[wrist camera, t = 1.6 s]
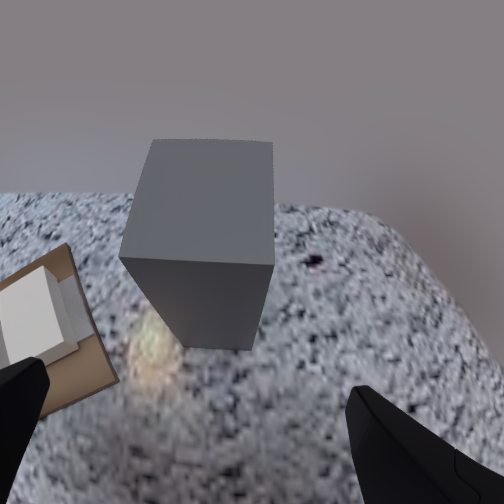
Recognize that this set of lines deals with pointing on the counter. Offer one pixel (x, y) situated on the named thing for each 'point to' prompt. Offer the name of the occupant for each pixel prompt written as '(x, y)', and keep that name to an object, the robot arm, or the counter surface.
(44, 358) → the terminal blocks
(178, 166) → the block
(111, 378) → the board
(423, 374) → the counter surface
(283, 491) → the counter surface
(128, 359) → the counter surface
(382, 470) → the robot arm
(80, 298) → the rail
